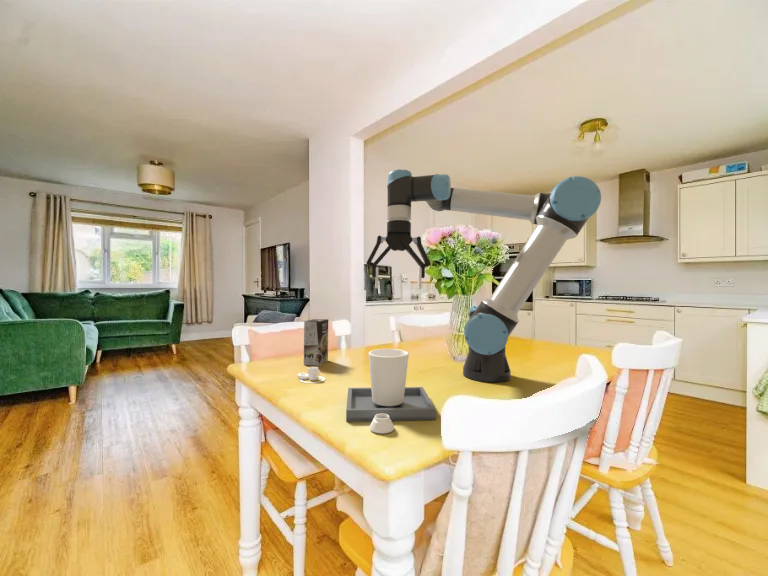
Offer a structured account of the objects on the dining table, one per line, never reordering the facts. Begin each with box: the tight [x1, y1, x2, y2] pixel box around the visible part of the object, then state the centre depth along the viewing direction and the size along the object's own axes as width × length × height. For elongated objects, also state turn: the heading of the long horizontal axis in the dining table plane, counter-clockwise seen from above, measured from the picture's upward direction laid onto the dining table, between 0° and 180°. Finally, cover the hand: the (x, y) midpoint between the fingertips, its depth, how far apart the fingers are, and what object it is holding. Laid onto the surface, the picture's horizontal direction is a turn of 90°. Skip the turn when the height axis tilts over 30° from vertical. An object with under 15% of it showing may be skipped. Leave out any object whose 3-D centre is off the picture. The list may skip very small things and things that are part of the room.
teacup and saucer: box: [297, 366, 326, 384], centre depth 108 cm, size 9×8×4 cm
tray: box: [345, 386, 437, 423], centre depth 84 cm, size 20×16×2 cm
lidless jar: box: [369, 413, 395, 435], centre depth 72 cm, size 5×3×5 cm
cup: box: [368, 348, 409, 408], centre depth 84 cm, size 10×10×13 cm
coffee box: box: [303, 318, 329, 367], centre depth 129 cm, size 9×6×16 cm
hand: (398, 288), depth 109 cm, fingers open, 13 cm apart
